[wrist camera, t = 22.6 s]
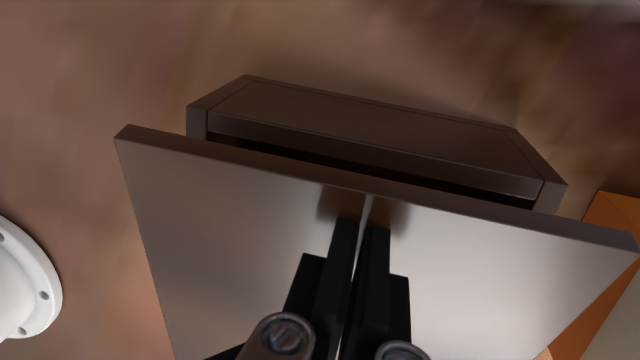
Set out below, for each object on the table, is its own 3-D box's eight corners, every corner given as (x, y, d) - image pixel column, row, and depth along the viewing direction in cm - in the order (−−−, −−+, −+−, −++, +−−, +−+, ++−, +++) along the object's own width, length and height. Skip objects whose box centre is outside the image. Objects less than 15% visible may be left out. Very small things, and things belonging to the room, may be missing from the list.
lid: (127, 123, 12) (112, 137, 11) (632, 231, 11) (644, 253, 10) (182, 348, 22) (176, 363, 21) (454, 419, 20) (455, 436, 20)
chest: (243, 74, 22) (185, 105, 16) (516, 128, 21) (570, 185, 14) (229, 270, 28) (183, 349, 22) (439, 321, 27) (454, 419, 21)
